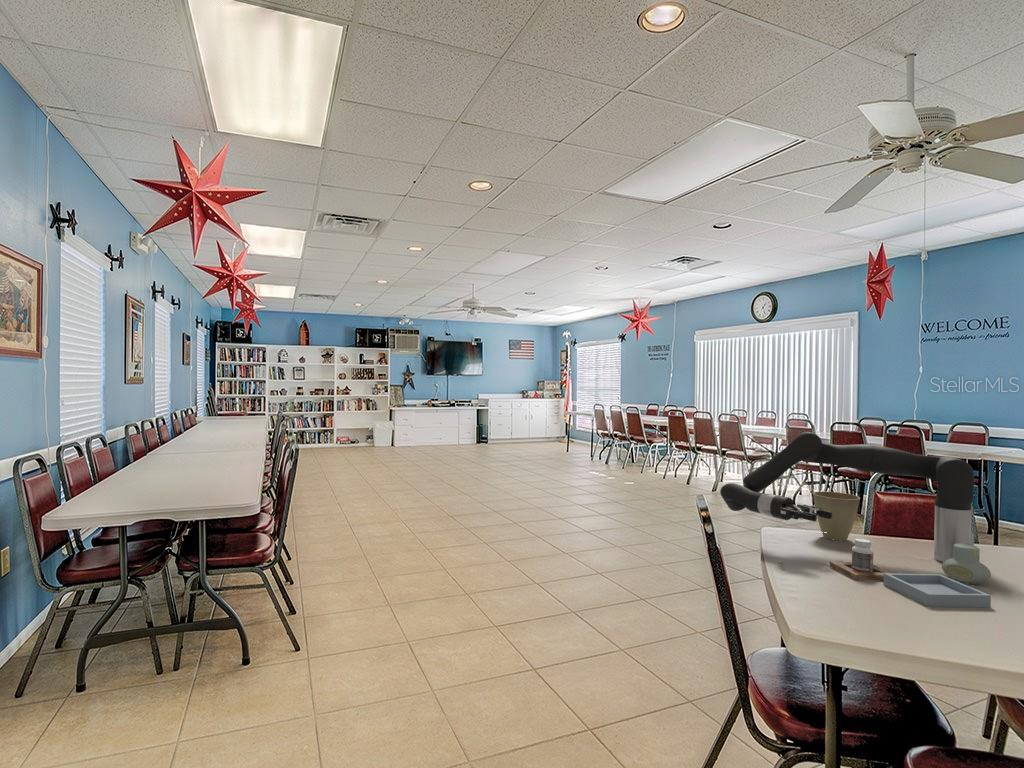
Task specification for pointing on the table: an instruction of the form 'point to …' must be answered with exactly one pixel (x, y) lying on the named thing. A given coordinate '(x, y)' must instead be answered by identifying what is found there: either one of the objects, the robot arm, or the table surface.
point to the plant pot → (837, 513)
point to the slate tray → (937, 590)
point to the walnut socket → (847, 570)
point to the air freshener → (966, 565)
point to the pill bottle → (862, 556)
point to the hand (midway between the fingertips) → (823, 516)
